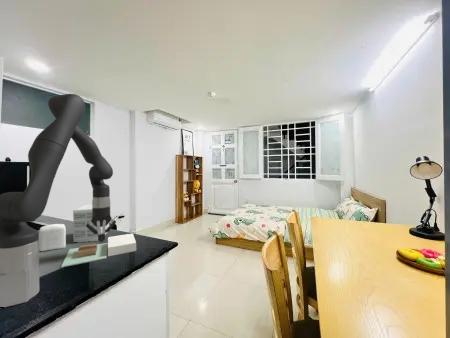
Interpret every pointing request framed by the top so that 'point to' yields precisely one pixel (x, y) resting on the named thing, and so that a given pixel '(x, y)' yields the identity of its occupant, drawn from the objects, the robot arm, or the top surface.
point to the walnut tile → (87, 250)
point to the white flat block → (121, 244)
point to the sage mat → (73, 260)
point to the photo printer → (52, 237)
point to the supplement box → (84, 224)
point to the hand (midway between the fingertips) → (101, 241)
